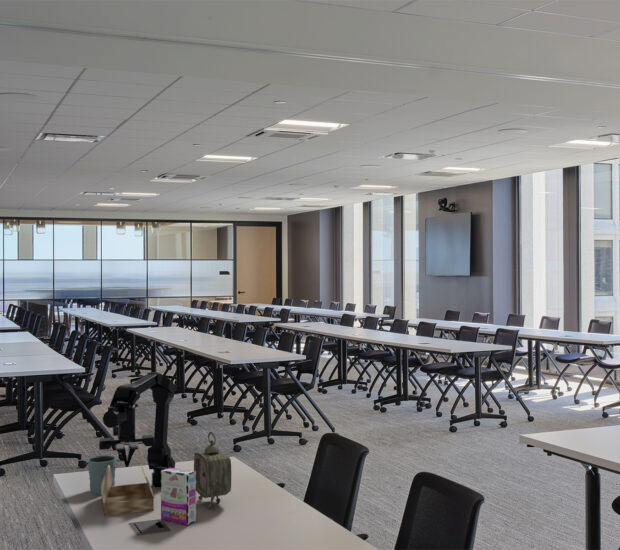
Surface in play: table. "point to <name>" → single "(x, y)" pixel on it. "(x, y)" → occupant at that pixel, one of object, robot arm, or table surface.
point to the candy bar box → (178, 496)
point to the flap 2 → (147, 480)
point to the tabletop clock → (212, 472)
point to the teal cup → (100, 471)
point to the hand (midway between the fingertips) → (126, 466)
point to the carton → (128, 499)
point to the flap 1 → (106, 483)
